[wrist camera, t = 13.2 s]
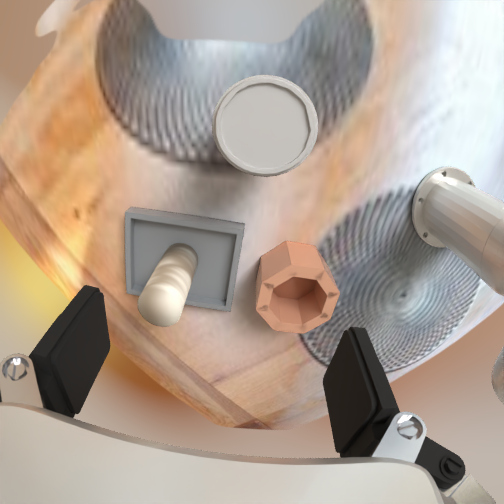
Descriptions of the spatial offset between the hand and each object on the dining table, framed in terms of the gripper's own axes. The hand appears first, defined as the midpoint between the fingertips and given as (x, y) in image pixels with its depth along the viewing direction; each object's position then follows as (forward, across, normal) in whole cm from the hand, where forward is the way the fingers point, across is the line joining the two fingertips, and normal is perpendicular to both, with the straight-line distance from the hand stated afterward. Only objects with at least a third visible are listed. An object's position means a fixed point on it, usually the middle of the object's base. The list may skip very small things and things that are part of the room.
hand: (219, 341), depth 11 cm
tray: (+30, +7, +13) cm, 34 cm away
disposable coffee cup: (+31, -1, -7) cm, 31 cm away
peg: (+30, +7, +13) cm, 33 cm away
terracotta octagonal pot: (+30, -9, +13) cm, 34 cm away
